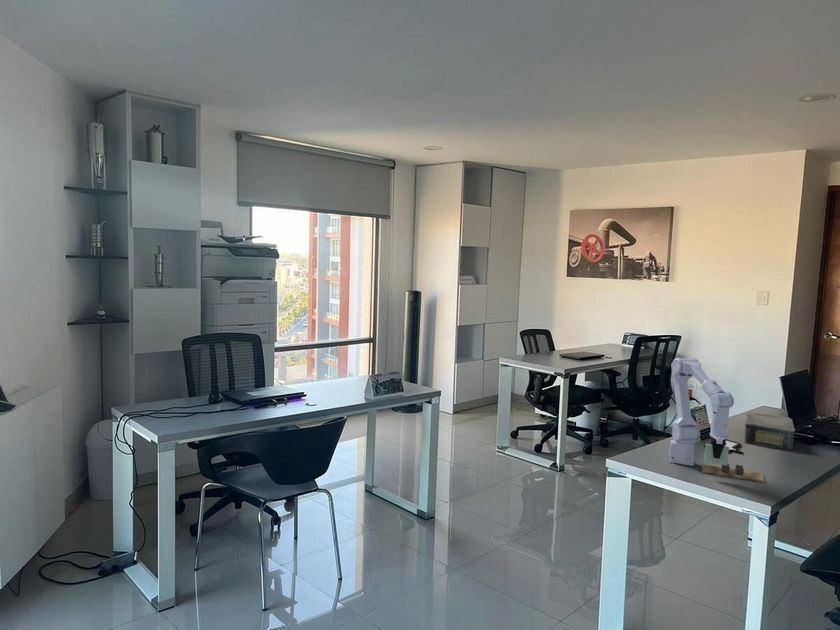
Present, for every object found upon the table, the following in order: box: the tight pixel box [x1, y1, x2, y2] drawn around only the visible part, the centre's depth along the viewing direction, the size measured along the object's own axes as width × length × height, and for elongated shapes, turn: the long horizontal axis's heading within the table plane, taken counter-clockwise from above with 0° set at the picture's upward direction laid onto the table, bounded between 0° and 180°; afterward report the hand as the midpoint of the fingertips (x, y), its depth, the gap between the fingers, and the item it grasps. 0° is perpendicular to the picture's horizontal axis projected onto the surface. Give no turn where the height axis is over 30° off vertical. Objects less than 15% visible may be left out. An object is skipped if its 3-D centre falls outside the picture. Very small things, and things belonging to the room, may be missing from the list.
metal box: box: [743, 411, 796, 451], centre depth 300 cm, size 21×32×10 cm, turn 150°
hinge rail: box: [700, 463, 766, 484], centre depth 243 cm, size 22×10×3 cm, turn 67°
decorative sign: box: [703, 438, 745, 456], centre depth 280 cm, size 22×2×15 cm
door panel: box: [703, 443, 730, 466], centre depth 236 cm, size 8×2×7 cm, turn 67°
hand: (716, 457), depth 236 cm, fingers closed on door panel, 2 cm apart
